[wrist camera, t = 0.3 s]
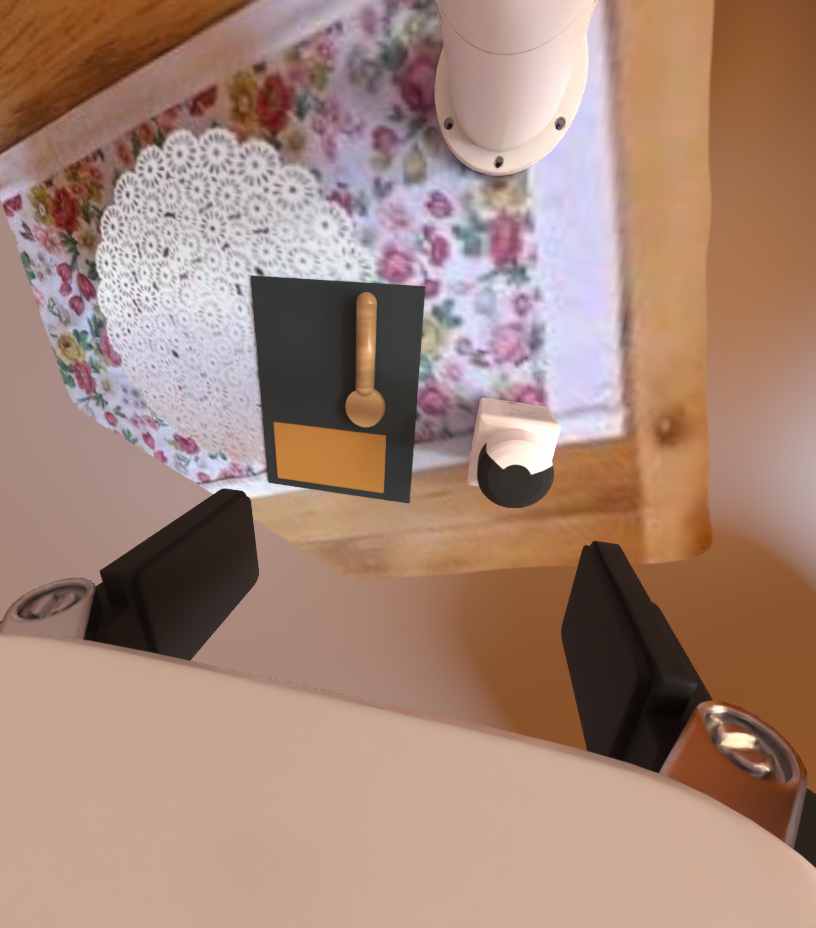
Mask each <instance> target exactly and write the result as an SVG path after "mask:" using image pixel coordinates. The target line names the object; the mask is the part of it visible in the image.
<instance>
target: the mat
mask: <svg viewBox="0 0 816 928" xmlns="http://www.w3.org/2000/svg"><path fill="white" fill-rule="evenodd" d="M251 286H252V298H253V309H254V321H255V332H256V344H257V355H258V366H259V378H260V389H261V401H262V412H263V424H264V435H265V447H266V458H267V470H268V481H269V483H275V484H282V485H289V486H295V487H302V488H309V489H316V490H322V491H329V492H336V493H343V494H349V495H356V496H363V497H370V498H376V499H383V500H390V501H397V502H403V503H409V501H410V487H411V474H412V460H413V446H414V432H415V419H416V405H417V391H418V378H419V364H420V350H421V337H422V323H423V309H424V296H425V287H422V286H406V285H390V284H374V283H358V282H342V281H326V280H309V279H293V278H277V277H261V276H251ZM363 292H369V293H371V294H373V295H374V296H375V298H376V301H377V319H376V353H375V387H374V389H375V390H377V391H378V392H379V393H380V394H381V395H382V397H383V399H384V401H385V413H384V415H383V417H382V418H381V420H380V421H379V422H378V423H377V424H375V425H373V426H371V427H361V426H358V425H356V424H355V423H353V422H352V421H351V420H350V418H349V417H348V415H347V413H346V407H345V406H346V400H347V398H348V396H349V395H350V394H351V393H352V392H353V391H355V390H356V387H355V385H356V301H357V298H358V296H359V295H360V294H361V293H363Z"/></svg>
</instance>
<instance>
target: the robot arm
mask: <svg viewBox="0 0 816 928" xmlns="http://www.w3.org/2000/svg"><path fill="white" fill-rule="evenodd" d="M597 2H598V0H436V5H437V11H438V17H439V23H440V29H441V35H442V41H443V48H442V51H441V55H440V58H439V62H438V65H437V71H436V78H435V107H436V113H437V119H438V123H439V126H440V130H441V132H442V134H443V137H444V139H445V141H446V144H447V145H448V147H449V148H450V150H451V151H452V152H453V154H454V155H455V156H456V157H457V158H458V159H459V160H460V161H461V162H462V163H463V164H464V165H466V166H467V167H469V168H471V169H472V170H474V171H476V172H479V173H483V174H486V175H494V176H503V175H510V174H515V173H517V172H520V171H523V170H525V169H528V168H529V167H531V166H532V165H534V164H536V163H537V162H539V161H540V160H542V159H543V158H544V157H545V156H546V155H547V154H548V153H550V152H551V151H552V150H553V149H554V147H555V146H556V145H557V144H558V143H559V141H560V140H561V139H562V138H563V136H564V135H565V133H566V131H567V130H568V128H569V126H570V125H571V123H572V121H573V119H574V117H575V115H576V112H577V110H578V108H579V105H580V102H581V99H582V96H583V93H584V90H585V84H586V79H587V74H588V46H587V38H586V32H587V29H588V26H589V24H590V21H591V18H592V15H593V13H594V10H595V7H596V4H597ZM558 124H559V125H561V129H560V130H557V129H556V125H558ZM448 125H452V128H451V129H450V130H448V129H447V126H448ZM497 162H499V163H501V166H500V167H499V168H497V167H496V166H495V164H496V163H497ZM100 574H101V577H102V580H103V582H102V583H100V584H99V585H97V586H96V587H95V584H94V583H93V582H92V581H91V580H88V579H85V578H68V579H62V580H58V581H54V582H51V583H47V584H45V585H42V586H40V587H38V588H35V589H33V590H31V591H30V592H28V593H26V594H24V595H23V596H21V597H20V598H19V599H17V600H16V601H15V602H14V603H13V604H12V605H11V606H10V607H9V609H8V610H7V612H6V614H5V616H4V617H3V619H2V621H1V622H0V928H816V794H815V793H813V792H812V791H811V790H809V789H808V788H807V785H808V779H807V770H806V768H805V766H804V764H803V762H802V760H801V758H800V756H799V755H798V754H797V752H796V751H795V750H794V748H793V747H792V746H791V745H790V743H789V742H788V741H787V740H785V738H784V737H783V736H781V734H779V733H778V732H777V731H776V730H775V729H774V728H773V727H772V726H770V725H769V724H767V723H766V722H764V721H763V720H761V719H760V718H759V717H758V716H756V715H754V714H752V713H750V712H748V711H746V710H744V709H743V708H741V707H738V706H735V705H732V704H729V703H726V702H721V701H713V700H712V698H711V696H710V694H709V693H708V691H707V689H706V688H705V686H704V684H703V682H702V680H701V679H700V677H699V675H698V674H697V672H696V670H695V669H694V667H693V665H692V663H691V662H690V660H689V658H688V656H687V655H686V653H685V651H684V650H683V648H682V646H681V644H680V643H679V641H678V639H677V638H676V636H675V634H674V632H673V631H672V629H671V627H670V625H669V624H668V622H667V620H666V619H665V617H664V615H663V613H662V612H661V610H660V609H659V607H658V606H657V605H656V604H654V603H653V602H651V600H650V598H649V597H648V595H647V593H646V591H645V590H644V588H643V586H642V584H641V582H640V581H639V579H638V577H637V575H636V574H635V572H634V570H633V568H632V567H631V565H630V563H629V561H628V559H627V558H626V556H625V554H624V552H623V551H622V549H621V547H620V546H619V545H618V544H613V543H606V542H598V541H593V542H592V544H591V546H587V545H585V546H584V547H583V549H582V553H581V556H580V560H579V564H578V568H577V572H576V575H575V579H574V583H573V586H572V590H571V594H570V597H569V601H568V605H567V609H566V612H565V616H564V620H563V624H562V630H561V632H562V633H561V635H562V642H563V646H564V651H565V655H566V660H567V664H568V668H569V673H570V677H571V681H572V686H573V690H574V695H575V699H576V703H577V707H578V712H579V716H580V721H581V724H582V730H583V734H584V738H585V742H586V747H587V751H585V750H581V749H577V748H573V747H569V746H565V745H561V744H557V743H552V742H549V741H545V740H541V739H536V738H532V737H528V736H524V735H520V734H516V733H512V732H508V731H504V730H499V729H495V728H491V727H486V726H482V725H478V724H473V723H469V722H464V721H460V720H455V719H451V718H447V717H442V716H438V715H434V714H429V713H424V712H420V711H416V710H412V709H407V708H403V707H398V706H394V705H390V704H385V703H381V702H376V701H372V700H367V699H363V698H358V697H353V696H349V695H344V694H340V693H335V692H331V691H327V690H322V689H318V688H313V687H308V686H304V685H299V684H295V683H290V682H285V681H281V680H277V679H272V678H268V677H263V676H258V675H254V674H249V673H245V672H240V671H235V670H230V669H226V668H221V667H217V666H212V665H207V664H203V663H198V662H193V661H190V660H191V659H192V658H193V657H194V655H195V654H196V653H197V652H198V651H199V650H200V648H201V647H202V646H203V645H204V644H205V642H206V641H207V640H208V639H209V638H210V637H211V635H212V634H213V633H214V632H215V631H216V630H217V628H218V627H219V626H220V625H221V624H222V622H223V621H224V620H225V619H226V618H227V617H228V615H229V614H230V613H231V612H232V611H233V610H234V608H235V607H236V606H237V604H239V602H240V601H241V600H242V599H243V598H244V596H245V595H246V594H247V593H248V592H249V591H250V589H251V588H252V587H253V586H254V585H255V583H256V581H257V579H258V576H259V568H258V560H257V550H256V542H255V533H254V524H253V516H252V507H251V500H250V498H249V497H247V496H246V494H245V493H244V492H243V491H239V490H232V489H221V490H219V491H218V492H216V493H215V494H213V495H212V496H210V497H209V498H207V499H206V500H204V501H203V502H201V503H200V504H198V505H197V506H195V507H194V508H192V509H191V510H190V511H188V512H187V513H185V514H184V515H182V516H181V517H179V518H178V519H176V520H175V521H173V522H172V523H170V524H169V525H167V526H166V527H164V528H163V529H161V530H160V531H159V532H157V533H155V534H154V535H152V536H151V537H149V538H148V539H147V540H145V541H143V542H142V543H140V544H139V545H137V546H136V547H135V548H133V549H132V550H130V551H129V552H127V553H126V554H124V555H123V556H121V557H120V558H118V559H117V560H115V561H114V562H112V563H111V564H109V565H108V566H106V567H105V568H103V569H102V570H100Z"/></svg>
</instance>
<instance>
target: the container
mask: <svg viewBox="0 0 816 928" xmlns="http://www.w3.org/2000/svg"><path fill="white" fill-rule="evenodd" d="M559 432H560V425H559V424H558V422H557V420H556V419H555V417H554V415H553V414H552V412H551V410H550V409H549V407H547V406H540V405H533V404H525V403H518V402H511V401H504V400H496V399H489V398H481V399H480V401H479V407H478V413H477V419H476V424H475V430H474V436H473V441H472V447H471V453H470V460H469V468H468V477H467V483H468V484H469V485H474V486H479V487H480V489H481V491H482V492H483V494H484V495H485V496H486V497H487V498H488V499H489V500H491V501H492V502H494V503H495V504H498V505H500V506H503V507H507V508H522V507H527V506H529V505H532V504H534V503H536V502H538V501H539V500H540V499H542V498H543V497H544V496H545V495H546V494H547V492H548V491H549V489H550V487H551V485H552V482H553V478H554V469H553V464H552V458H553V454H554V450H555V447H556V443H557V439H558V435H559Z"/></svg>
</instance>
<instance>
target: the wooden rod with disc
mask: <svg viewBox="0 0 816 928" xmlns="http://www.w3.org/2000/svg"><path fill="white" fill-rule="evenodd" d="M376 319H377V301H376V298H375V296H374V295H373V294H371V293H369V292H363V293H361V294H360V295H359V296H358V298H357V301H356V385H355V387H356V390H355V391H353V392H352V393H351V394H350V395H349V396H348V398H347V400H346V406H345V407H346V413H347V415H348V417H349V418H350V420H351V421H352V422H353V423H355V424H356V425H358V426H361V427H371V426H373V425H375V424H377V423H378V422H379V421H380V420H381V418H382V417H383V415H384V413H385V401H384V399H383V397H382V395H381V394H380V393H379V392H378V391H377V390H375V389H374V387H375V353H376Z"/></svg>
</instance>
